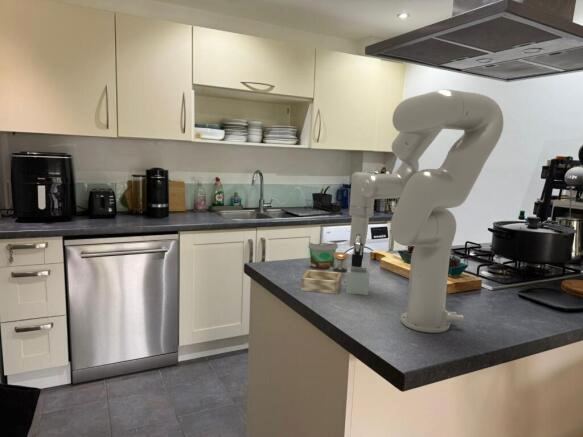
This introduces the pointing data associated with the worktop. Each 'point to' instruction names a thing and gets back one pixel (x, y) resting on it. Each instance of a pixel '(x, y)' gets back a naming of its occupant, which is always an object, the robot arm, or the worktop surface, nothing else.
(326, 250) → the food container
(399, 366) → the worktop surface
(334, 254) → the plunger
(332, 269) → the plunger base
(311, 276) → the bay
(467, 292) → the worktop surface
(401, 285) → the worktop surface
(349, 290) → the pale green box
